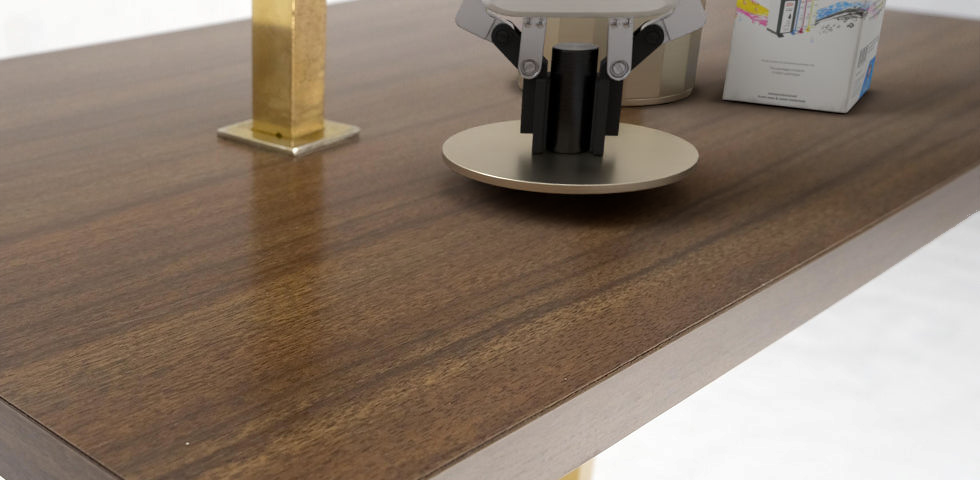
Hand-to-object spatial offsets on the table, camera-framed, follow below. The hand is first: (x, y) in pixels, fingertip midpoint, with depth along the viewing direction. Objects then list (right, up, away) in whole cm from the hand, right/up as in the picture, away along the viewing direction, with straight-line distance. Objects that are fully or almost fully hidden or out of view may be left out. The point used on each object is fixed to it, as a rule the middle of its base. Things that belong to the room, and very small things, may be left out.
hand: (567, 144), depth 64 cm
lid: (0, -1, 0) cm, 1 cm away
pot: (+9, +9, +24) cm, 27 cm away
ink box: (+22, +7, +20) cm, 31 cm away
